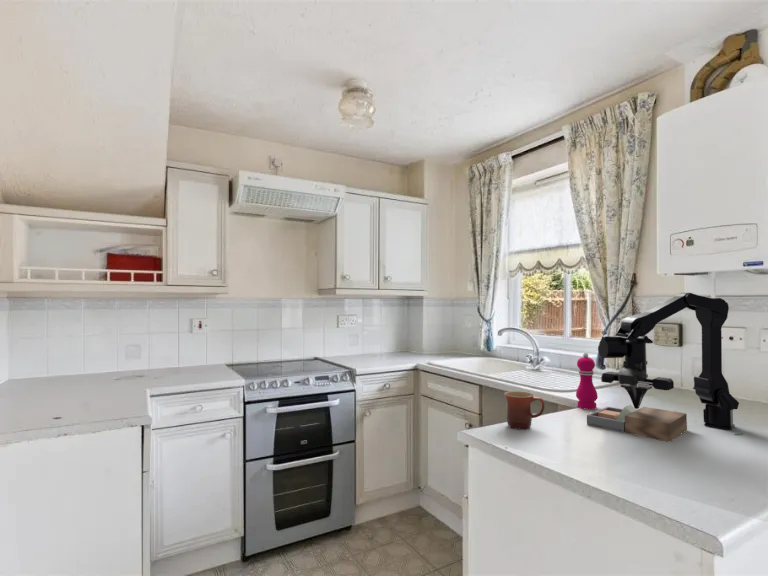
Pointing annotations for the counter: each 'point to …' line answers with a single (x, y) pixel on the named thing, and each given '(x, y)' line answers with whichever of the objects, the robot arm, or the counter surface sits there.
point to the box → (606, 420)
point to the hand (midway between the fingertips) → (636, 408)
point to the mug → (521, 409)
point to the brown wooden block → (656, 423)
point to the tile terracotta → (608, 414)
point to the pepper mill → (586, 383)
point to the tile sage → (625, 412)
